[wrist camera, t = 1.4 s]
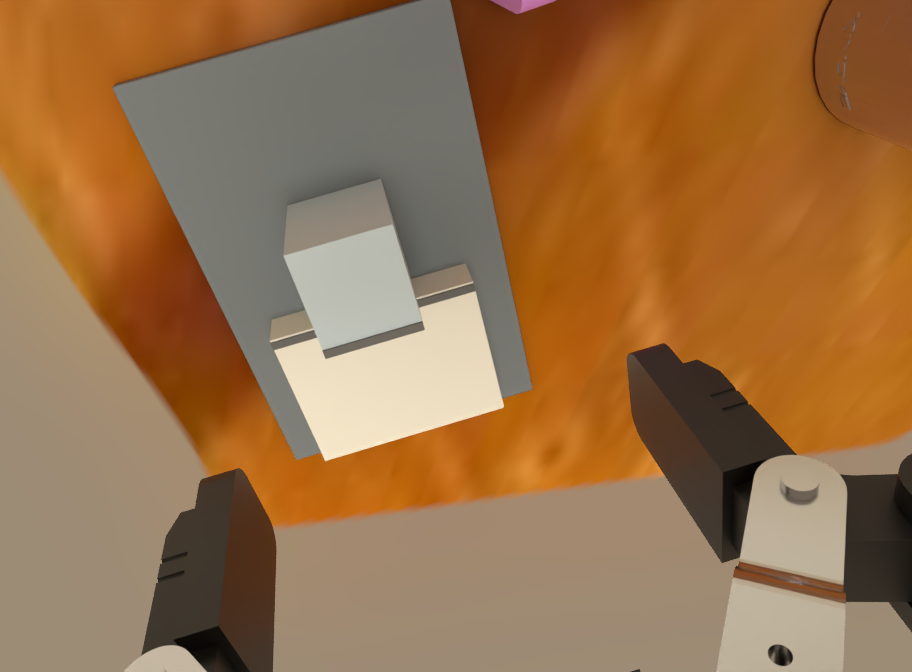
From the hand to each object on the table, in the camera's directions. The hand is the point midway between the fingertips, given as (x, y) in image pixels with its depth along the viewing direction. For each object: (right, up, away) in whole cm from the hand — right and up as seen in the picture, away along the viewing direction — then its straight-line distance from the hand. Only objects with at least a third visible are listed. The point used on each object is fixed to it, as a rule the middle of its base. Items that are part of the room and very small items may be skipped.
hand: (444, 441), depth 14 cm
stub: (-5, +7, +19) cm, 21 cm away
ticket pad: (-5, +6, +20) cm, 21 cm away
